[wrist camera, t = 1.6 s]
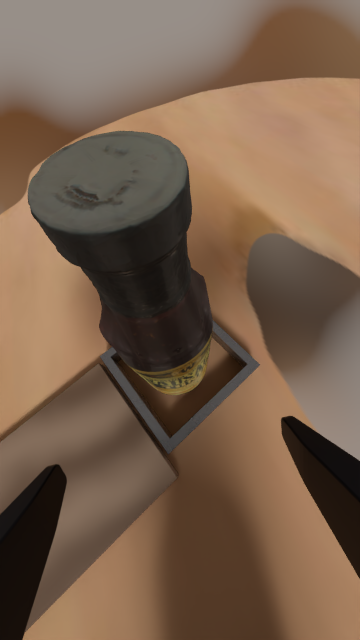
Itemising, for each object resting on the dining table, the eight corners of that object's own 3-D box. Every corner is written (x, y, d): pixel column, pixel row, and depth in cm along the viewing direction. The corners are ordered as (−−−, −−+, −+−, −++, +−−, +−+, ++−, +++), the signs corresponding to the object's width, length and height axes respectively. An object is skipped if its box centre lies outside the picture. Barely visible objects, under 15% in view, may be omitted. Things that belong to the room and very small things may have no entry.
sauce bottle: (165, 409, 21) (-43, 366, 3) (139, 355, 24) (-61, 169, 6) (221, 374, 22) (292, 193, 4) (190, 326, 25) (151, 84, 7)
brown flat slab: (178, 474, 19) (177, 477, 18) (-11, 666, 16) (-25, 682, 15) (102, 365, 24) (98, 363, 23) (-56, 492, 20) (-68, 496, 20)
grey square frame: (255, 369, 22) (260, 364, 20) (171, 450, 20) (168, 454, 18) (183, 299, 26) (182, 291, 24) (107, 361, 24) (99, 356, 22)
